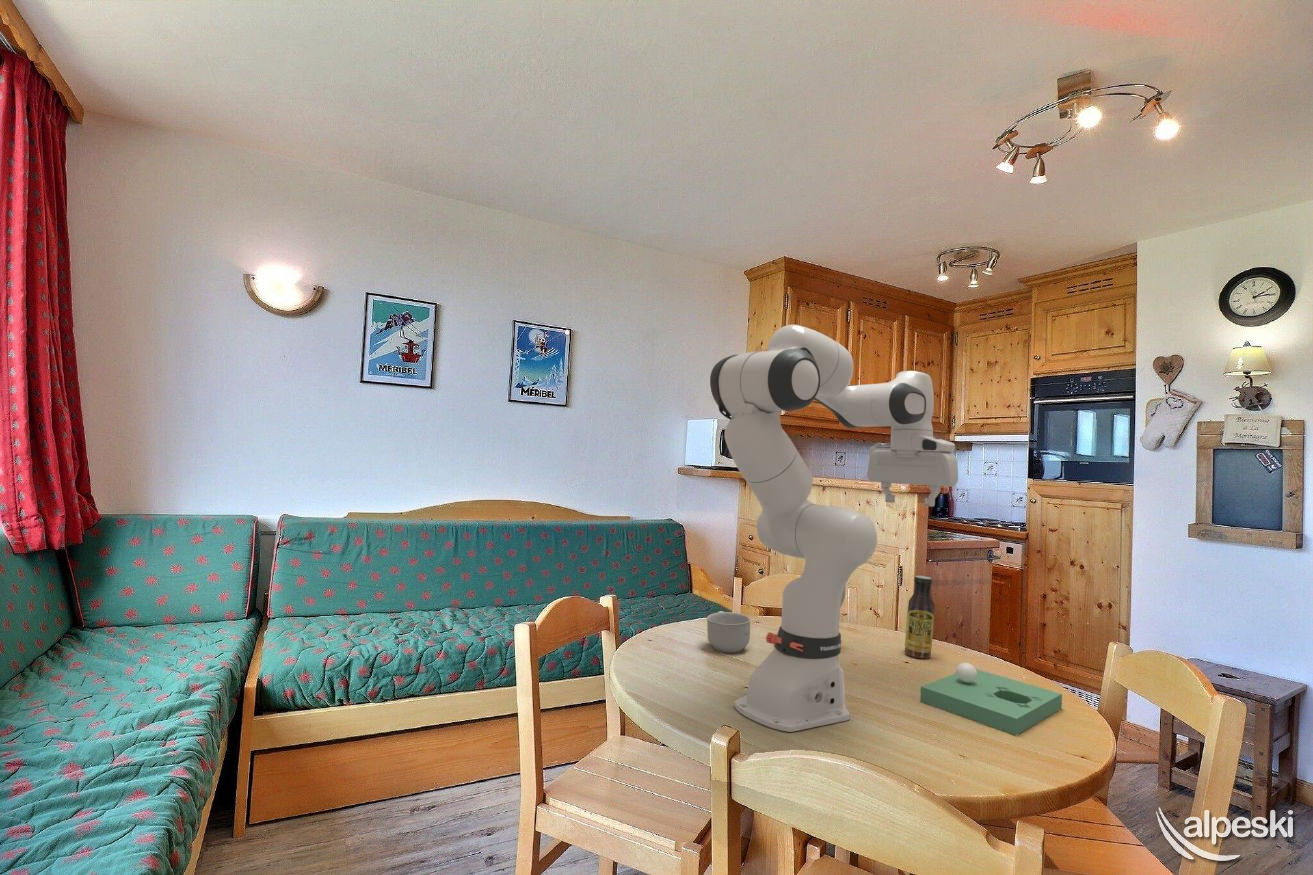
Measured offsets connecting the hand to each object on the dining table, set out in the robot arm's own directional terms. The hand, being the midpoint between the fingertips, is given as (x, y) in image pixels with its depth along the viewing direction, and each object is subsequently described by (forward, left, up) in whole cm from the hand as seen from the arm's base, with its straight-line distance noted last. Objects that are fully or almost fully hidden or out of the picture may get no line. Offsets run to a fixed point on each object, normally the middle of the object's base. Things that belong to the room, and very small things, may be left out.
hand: (909, 504), depth 140 cm
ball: (+1, -13, -34) cm, 36 cm away
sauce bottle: (+19, +7, -39) cm, 44 cm away
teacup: (-19, +37, -39) cm, 57 cm away
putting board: (+1, -18, -39) cm, 43 cm away
